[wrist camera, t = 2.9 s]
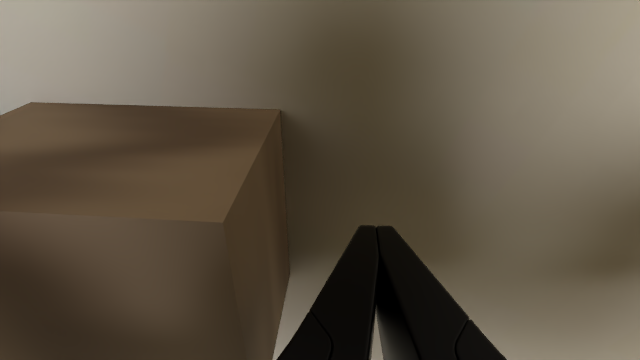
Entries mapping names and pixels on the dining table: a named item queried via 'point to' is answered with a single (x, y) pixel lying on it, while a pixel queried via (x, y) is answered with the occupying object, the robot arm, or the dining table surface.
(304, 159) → the dining table surface
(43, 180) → the walnut brick
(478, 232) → the dining table surface
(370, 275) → the robot arm
